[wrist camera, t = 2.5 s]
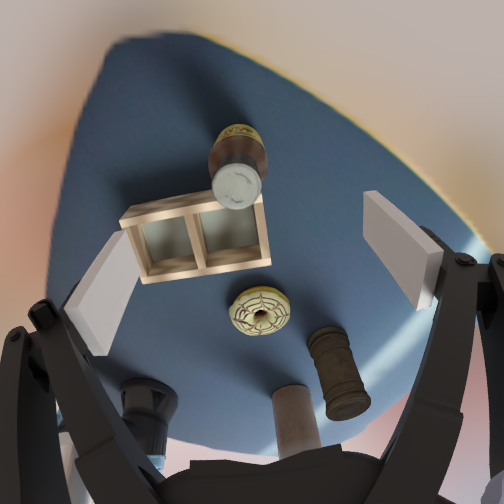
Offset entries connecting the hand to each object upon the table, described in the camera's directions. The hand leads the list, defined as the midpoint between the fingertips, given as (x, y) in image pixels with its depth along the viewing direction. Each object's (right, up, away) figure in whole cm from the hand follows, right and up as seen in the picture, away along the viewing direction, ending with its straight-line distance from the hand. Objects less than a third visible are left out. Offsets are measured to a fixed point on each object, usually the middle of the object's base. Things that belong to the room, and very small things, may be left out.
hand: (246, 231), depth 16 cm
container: (+16, -20, +45) cm, 52 cm away
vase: (+10, -38, +55) cm, 67 cm away
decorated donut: (+2, -11, +39) cm, 41 cm away
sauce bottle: (-2, +14, +25) cm, 29 cm away
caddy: (-8, +3, +30) cm, 32 cm away
